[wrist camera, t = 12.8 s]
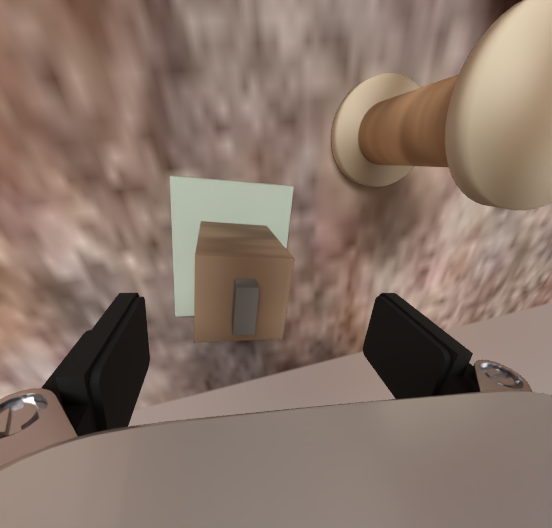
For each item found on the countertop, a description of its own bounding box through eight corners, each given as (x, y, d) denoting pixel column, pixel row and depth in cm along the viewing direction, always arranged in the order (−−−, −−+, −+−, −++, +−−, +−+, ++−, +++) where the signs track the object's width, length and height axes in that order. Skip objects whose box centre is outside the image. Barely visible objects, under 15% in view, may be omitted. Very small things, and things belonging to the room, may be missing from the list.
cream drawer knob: (431, 86, 19) (682, 3, 9) (405, 189, 21) (578, 215, 11) (341, 68, 17) (523, -62, 7) (323, 181, 19) (442, 204, 9)
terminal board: (290, 185, 19) (293, 186, 18) (276, 307, 22) (279, 312, 22) (171, 175, 17) (169, 176, 16) (176, 310, 21) (175, 316, 20)
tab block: (266, 225, 19) (300, 266, 12) (260, 283, 20) (287, 351, 13) (200, 221, 18) (193, 263, 11) (199, 282, 19) (192, 356, 12)
